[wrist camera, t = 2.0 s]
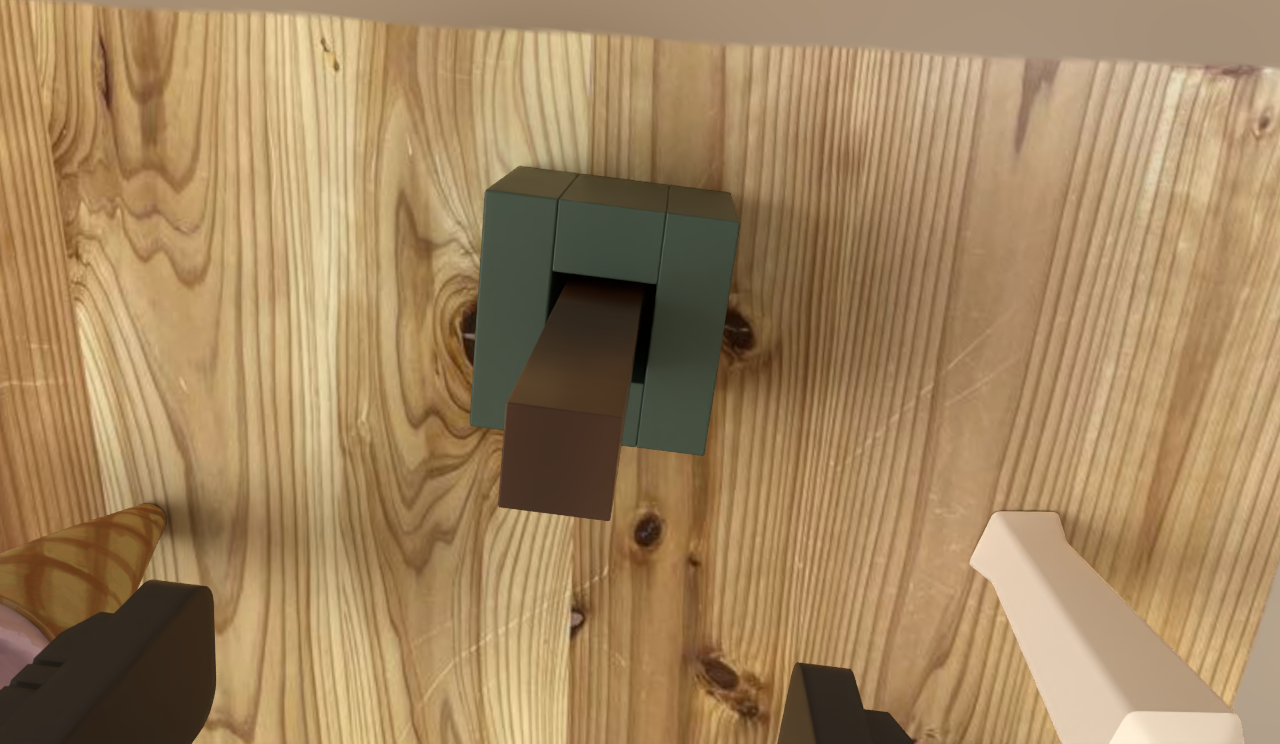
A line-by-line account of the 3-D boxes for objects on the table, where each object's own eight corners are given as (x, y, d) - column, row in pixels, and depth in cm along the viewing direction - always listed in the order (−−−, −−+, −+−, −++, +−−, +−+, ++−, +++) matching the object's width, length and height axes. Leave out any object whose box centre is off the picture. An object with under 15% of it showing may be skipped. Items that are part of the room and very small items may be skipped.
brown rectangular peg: (648, 255, 34) (622, 417, 19) (641, 318, 35) (610, 522, 20) (583, 246, 34) (505, 402, 19) (577, 310, 35) (497, 508, 20)
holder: (730, 192, 34) (740, 222, 28) (700, 392, 36) (703, 456, 30) (517, 165, 34) (484, 189, 28) (502, 367, 36) (469, 426, 30)
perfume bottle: (1042, 474, 36) (1271, 745, 22) (1097, 557, 38) (1349, 865, 23) (938, 535, 38) (1094, 831, 23) (994, 614, 39) (1176, 943, 24)
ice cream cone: (40, 525, 39) (-327, 797, 25) (97, 410, 37) (-262, 631, 23) (185, 606, 40) (-87, 912, 26) (249, 497, 38) (-7, 761, 24)
